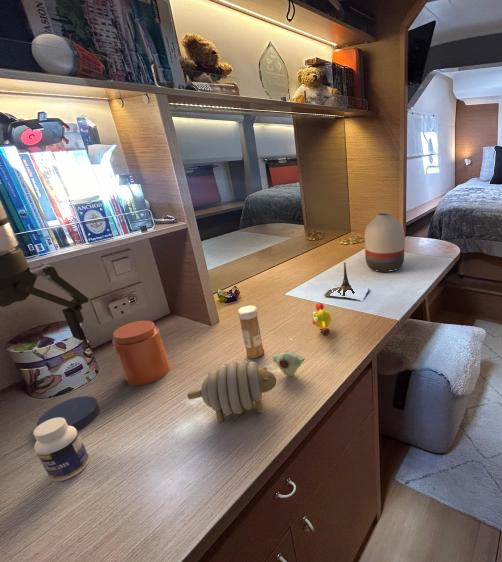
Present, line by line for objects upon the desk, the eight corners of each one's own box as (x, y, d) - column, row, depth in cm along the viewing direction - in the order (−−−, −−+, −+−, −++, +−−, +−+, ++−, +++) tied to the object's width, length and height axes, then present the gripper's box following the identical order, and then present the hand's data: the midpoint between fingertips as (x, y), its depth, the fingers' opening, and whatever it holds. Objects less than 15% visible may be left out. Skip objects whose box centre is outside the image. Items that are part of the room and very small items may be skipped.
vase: (395, 276, 139) (395, 219, 130) (358, 271, 146) (356, 216, 136) (409, 264, 153) (410, 211, 144) (375, 259, 160) (374, 208, 150)
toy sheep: (282, 415, 70) (275, 370, 66) (192, 441, 64) (177, 395, 60) (276, 383, 79) (269, 343, 75) (196, 404, 73) (184, 362, 69)
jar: (117, 383, 80) (99, 337, 76) (148, 360, 89) (133, 317, 84) (150, 387, 79) (134, 341, 74) (178, 363, 87) (165, 320, 82)
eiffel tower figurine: (370, 289, 127) (369, 256, 122) (362, 301, 118) (361, 265, 113) (333, 286, 131) (331, 253, 126) (323, 297, 122) (320, 262, 117)
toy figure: (310, 318, 108) (308, 299, 105) (328, 316, 109) (326, 297, 106) (316, 349, 92) (314, 327, 89) (336, 346, 93) (334, 324, 90)
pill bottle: (44, 487, 56) (19, 444, 52) (57, 461, 61) (35, 420, 57) (84, 475, 58) (63, 432, 54) (94, 450, 63) (75, 410, 59)
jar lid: (108, 413, 71) (105, 406, 71) (51, 445, 64) (47, 438, 63) (88, 397, 76) (85, 390, 75) (33, 425, 69) (29, 418, 68)
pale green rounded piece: (308, 372, 83) (305, 349, 80) (301, 383, 79) (298, 359, 76) (278, 368, 84) (274, 345, 82) (270, 379, 81) (266, 355, 78)
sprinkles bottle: (265, 355, 89) (257, 310, 84) (247, 360, 88) (238, 314, 82) (262, 347, 93) (255, 303, 88) (245, 351, 91) (236, 307, 86)
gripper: (-130, 288, 43) (-46, 410, 52) (88, 234, 64) (119, 328, 73) (-153, 275, 45) (-70, 394, 55) (63, 227, 66) (97, 319, 75)
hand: (38, 357), depth 64 cm, fingers open, 13 cm apart
